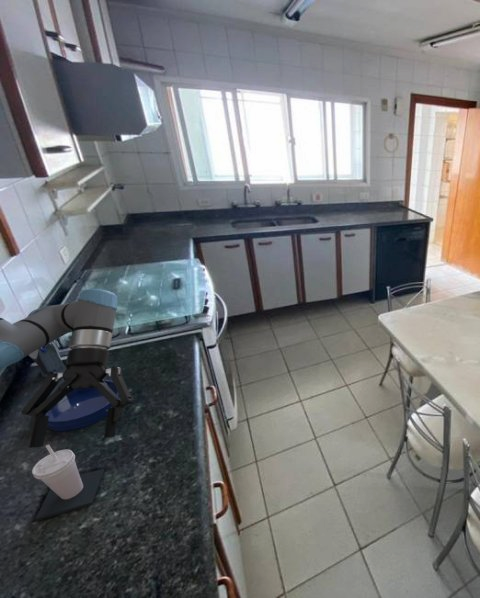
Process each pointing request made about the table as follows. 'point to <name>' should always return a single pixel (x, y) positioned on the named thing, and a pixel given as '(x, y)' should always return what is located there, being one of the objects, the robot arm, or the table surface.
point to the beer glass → (48, 359)
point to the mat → (84, 498)
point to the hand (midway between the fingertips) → (73, 442)
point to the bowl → (80, 409)
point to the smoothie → (59, 473)
